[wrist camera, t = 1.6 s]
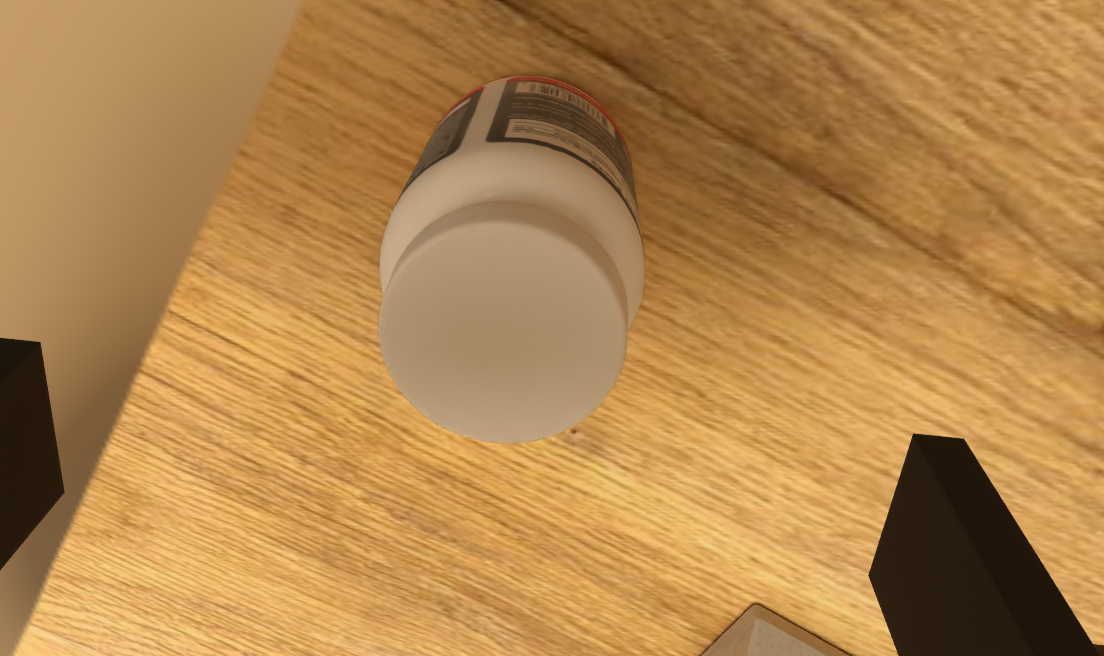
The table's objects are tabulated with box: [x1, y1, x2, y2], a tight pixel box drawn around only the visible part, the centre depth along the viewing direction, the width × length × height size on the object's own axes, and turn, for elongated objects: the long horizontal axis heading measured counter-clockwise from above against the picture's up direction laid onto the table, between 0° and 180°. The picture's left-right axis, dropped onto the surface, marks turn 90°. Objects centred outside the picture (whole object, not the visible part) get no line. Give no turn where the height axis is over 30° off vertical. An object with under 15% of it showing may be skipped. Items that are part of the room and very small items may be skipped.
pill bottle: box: [379, 76, 645, 443], centre depth 22 cm, size 6×6×10 cm
